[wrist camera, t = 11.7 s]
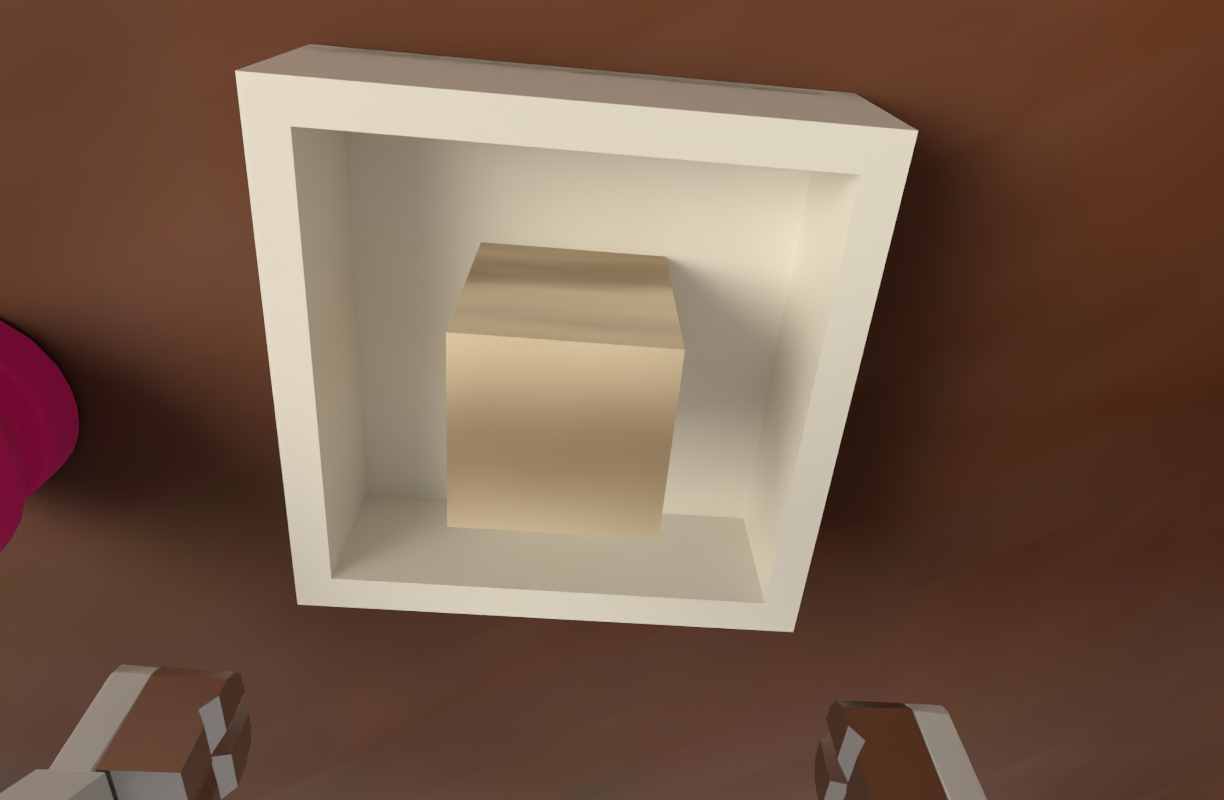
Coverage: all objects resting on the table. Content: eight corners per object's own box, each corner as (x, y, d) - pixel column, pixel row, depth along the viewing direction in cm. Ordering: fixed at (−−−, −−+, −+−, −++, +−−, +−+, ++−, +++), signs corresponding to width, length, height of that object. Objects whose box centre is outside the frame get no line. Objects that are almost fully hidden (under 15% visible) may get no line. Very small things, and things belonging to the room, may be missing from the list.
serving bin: (310, 44, 21) (235, 70, 17) (854, 93, 22) (918, 130, 18) (344, 500, 28) (297, 604, 24) (763, 526, 29) (793, 632, 24)
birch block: (480, 241, 23) (445, 332, 18) (665, 256, 23) (684, 349, 18) (478, 404, 25) (447, 526, 20) (645, 415, 25) (658, 539, 20)
